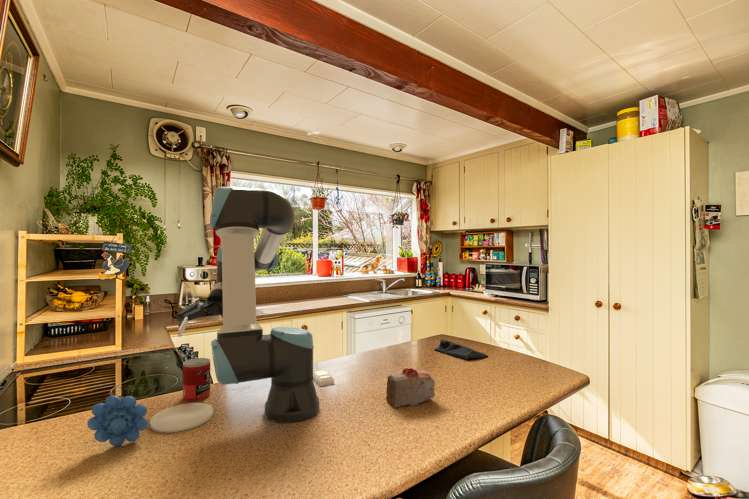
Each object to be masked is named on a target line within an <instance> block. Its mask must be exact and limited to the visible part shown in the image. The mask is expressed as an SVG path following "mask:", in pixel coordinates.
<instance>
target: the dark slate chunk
mask: <svg viewBox="0 0 749 499" xmlns="http://www.w3.org/2000/svg"><path fill="white" fill-rule="evenodd" d="M433 350H434V351H435V352H440V353H442V354H444V355H445V354H446V355H450V356H452V357H456V358H459V359H462V360H463V359H464V360H470V359H485V358H488V357H489V355H488V354H486V353H485V352H480V351H478V350H476V349H475V350H474V349H473V348H471V347H468V346H465V345H463V344H460V343H457V342H453V341H451V340H446V339H443V338H442V339H440V341H439V345H438V347H435V348H433Z"/></svg>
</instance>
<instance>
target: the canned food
mask: <svg viewBox="0 0 749 499" xmlns="http://www.w3.org/2000/svg"><path fill="white" fill-rule="evenodd" d="M210 394H211V359H209V358H207V357H198V358H196V357H195V358H190V359H187V360H185V361H183V362H182V397H183V399H184V400H185V401H186V402H187V401H188V402H196V401H201V400H205V399H207V398H208V397H210Z"/></svg>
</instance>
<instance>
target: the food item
mask: <svg viewBox="0 0 749 499" xmlns="http://www.w3.org/2000/svg"><path fill="white" fill-rule="evenodd" d="M435 381H436V380H434V378H433V377H432V376H431V374H430V373H429V372H428V371H427V370H423V369H420V370H416V369H414V368H411V367H409V368H408V367H406V368H403V370H402V372H400V373H395V374H394V373H393V374H389V375H388V376H387V381H386V397H385V399H386V402H387V403H388V405H389V404H390V405H391V406H392V407H393V408H395V409H396V408H400V407H404V406H408V405H410V406H413V407H414V406H417V405H419V403H423V402H424V403H425V402H428V401H431V400H432V399H433V398H434V397H435V395H436V394H435V386H436V384H435V383H436V382H435Z"/></svg>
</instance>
